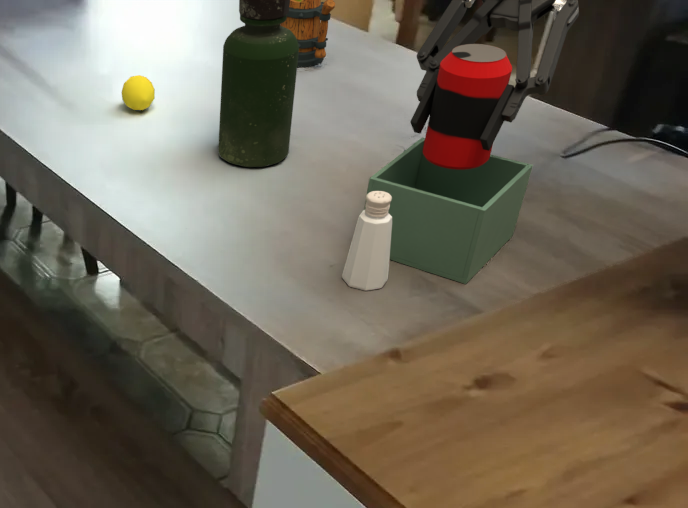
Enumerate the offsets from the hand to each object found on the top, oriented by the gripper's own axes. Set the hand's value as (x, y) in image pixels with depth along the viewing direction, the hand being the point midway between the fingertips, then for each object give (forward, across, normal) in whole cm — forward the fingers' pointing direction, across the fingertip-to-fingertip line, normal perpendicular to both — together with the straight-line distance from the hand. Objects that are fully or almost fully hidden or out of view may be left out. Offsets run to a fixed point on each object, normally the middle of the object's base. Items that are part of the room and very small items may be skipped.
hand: (449, 136), depth 105 cm
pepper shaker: (+18, +3, -4) cm, 18 cm away
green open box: (+8, 0, -13) cm, 16 cm away
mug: (-25, +47, -47) cm, 71 cm away
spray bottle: (+2, +33, -20) cm, 38 cm away
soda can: (0, 0, -5) cm, 5 cm away
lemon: (-1, +58, -22) cm, 62 cm away
